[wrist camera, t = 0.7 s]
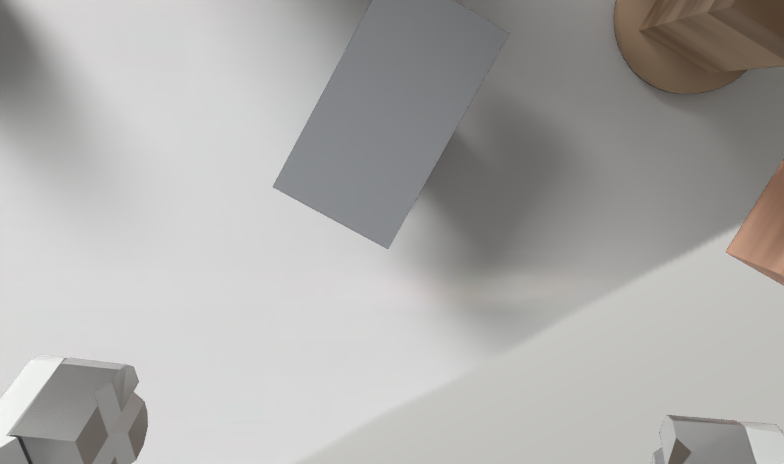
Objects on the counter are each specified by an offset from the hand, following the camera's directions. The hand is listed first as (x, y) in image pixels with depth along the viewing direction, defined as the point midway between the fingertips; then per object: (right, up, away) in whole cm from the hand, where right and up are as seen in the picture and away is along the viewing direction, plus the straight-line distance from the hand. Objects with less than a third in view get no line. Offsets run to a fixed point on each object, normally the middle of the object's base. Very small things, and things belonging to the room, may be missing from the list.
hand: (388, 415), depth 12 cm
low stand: (-1, +12, +42) cm, 44 cm away
